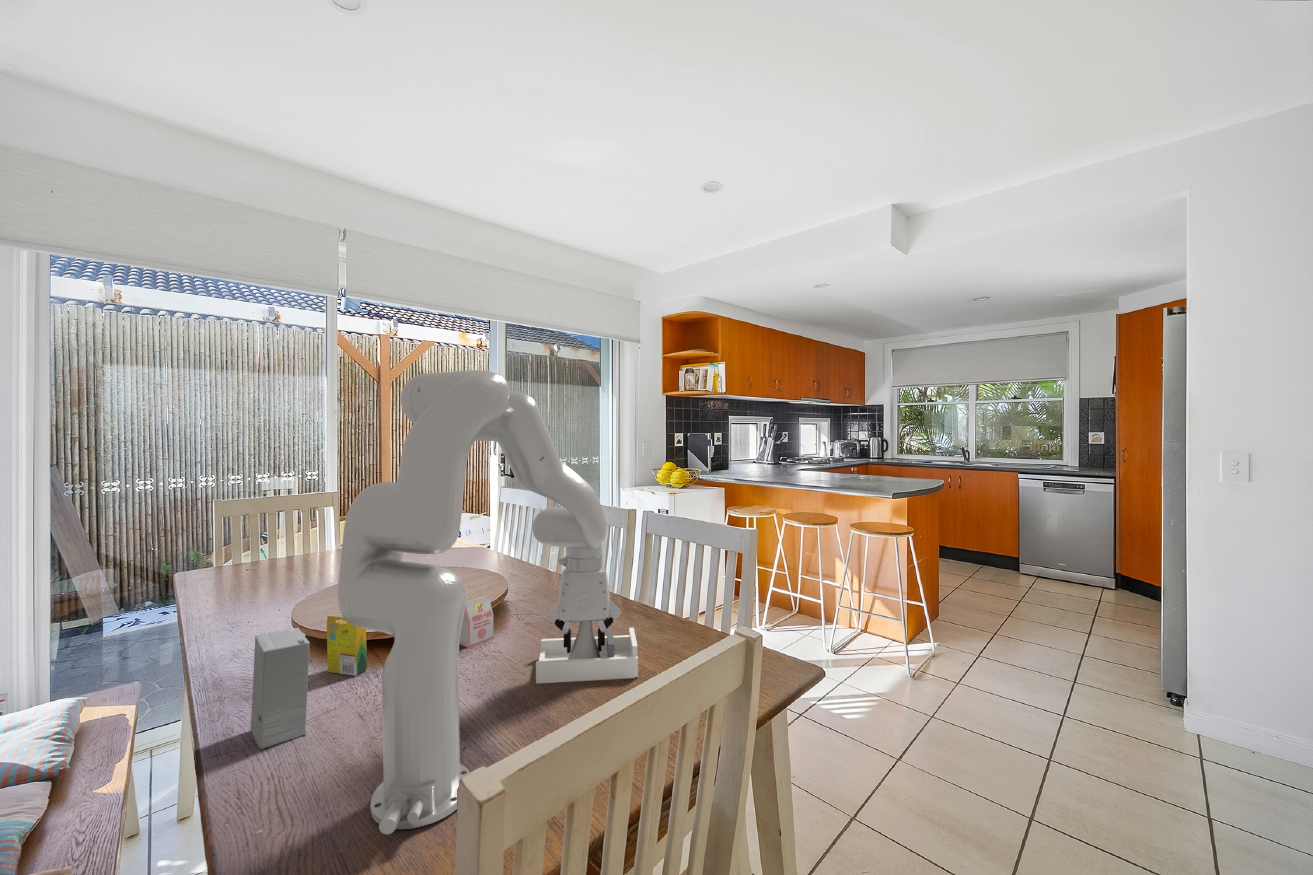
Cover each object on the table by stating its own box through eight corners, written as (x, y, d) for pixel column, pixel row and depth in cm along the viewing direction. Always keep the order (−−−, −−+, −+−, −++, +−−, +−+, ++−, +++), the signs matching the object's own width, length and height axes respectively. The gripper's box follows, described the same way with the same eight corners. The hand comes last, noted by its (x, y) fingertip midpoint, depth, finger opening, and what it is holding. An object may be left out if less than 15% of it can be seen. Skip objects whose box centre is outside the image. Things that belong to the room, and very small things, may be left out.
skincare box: (249, 730, 90) (248, 635, 89) (300, 714, 95) (298, 624, 94) (259, 752, 84) (257, 651, 83) (312, 733, 89) (310, 638, 88)
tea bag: (458, 643, 125) (458, 600, 125) (484, 634, 131) (483, 593, 130) (468, 647, 123) (467, 604, 123) (493, 638, 128) (493, 596, 128)
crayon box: (367, 670, 112) (366, 614, 111) (356, 676, 109) (355, 619, 109) (338, 666, 114) (337, 611, 113) (326, 672, 111) (325, 615, 111)
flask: (595, 672, 109) (597, 622, 108) (561, 667, 110) (563, 618, 110) (606, 656, 116) (607, 610, 115) (573, 652, 117) (575, 606, 117)
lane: (637, 677, 108) (637, 648, 108) (535, 683, 106) (535, 653, 106) (633, 652, 120) (633, 625, 120) (541, 657, 118) (541, 629, 118)
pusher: (614, 668, 109) (614, 644, 109) (608, 669, 109) (608, 644, 109) (612, 651, 118) (612, 628, 118) (607, 651, 118) (606, 628, 118)
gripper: (540, 569, 108) (540, 659, 108) (626, 566, 110) (626, 655, 110) (543, 560, 115) (543, 644, 116) (624, 557, 117) (624, 640, 118)
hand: (584, 648), depth 113 cm, fingers open, 5 cm apart
